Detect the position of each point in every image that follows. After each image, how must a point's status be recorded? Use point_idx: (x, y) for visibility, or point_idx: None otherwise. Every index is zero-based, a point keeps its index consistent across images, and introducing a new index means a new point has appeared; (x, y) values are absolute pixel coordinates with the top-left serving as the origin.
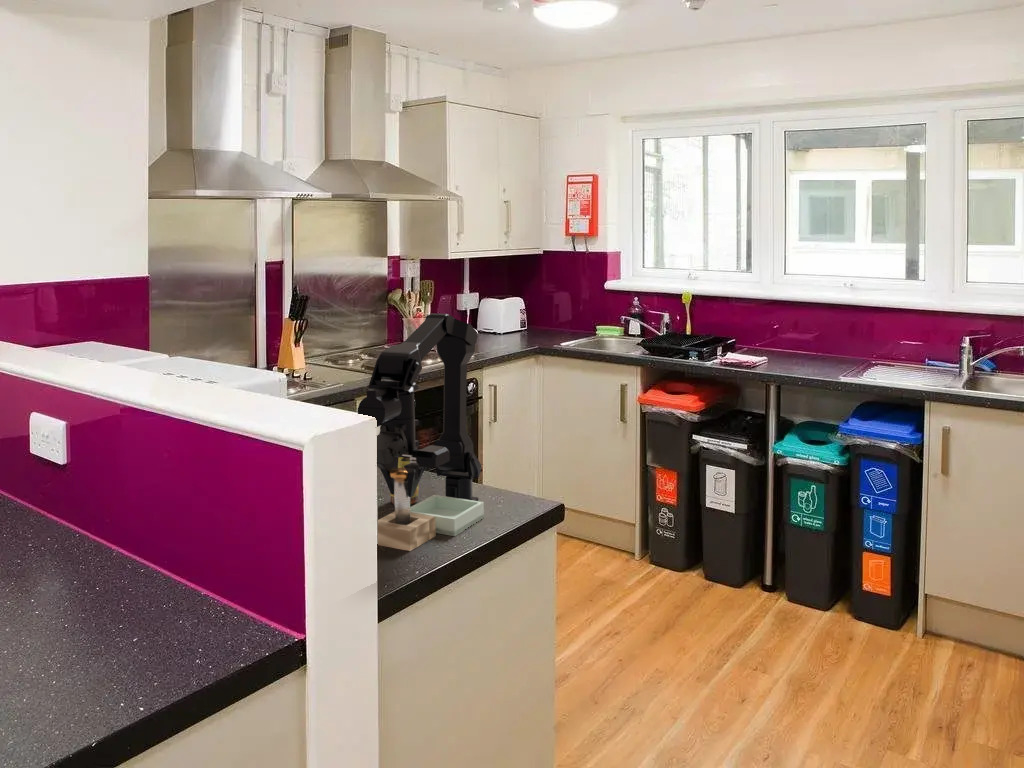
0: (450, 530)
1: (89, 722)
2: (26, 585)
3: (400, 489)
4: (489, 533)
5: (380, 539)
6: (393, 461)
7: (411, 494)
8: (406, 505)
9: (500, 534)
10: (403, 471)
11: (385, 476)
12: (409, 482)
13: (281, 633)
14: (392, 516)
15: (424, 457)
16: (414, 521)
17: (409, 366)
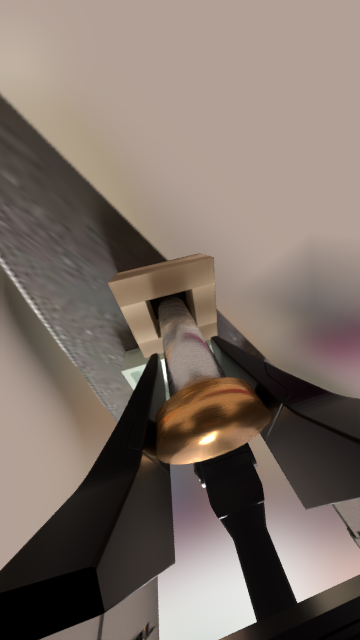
0: (131, 355)
1: None
2: None
3: (178, 355)
4: (103, 380)
5: (182, 259)
6: (300, 472)
7: (149, 362)
8: (162, 333)
9: (91, 385)
10: (198, 442)
11: (268, 370)
12: (140, 398)
13: None
14: (204, 315)
15: None
16: (151, 324)
17: None
